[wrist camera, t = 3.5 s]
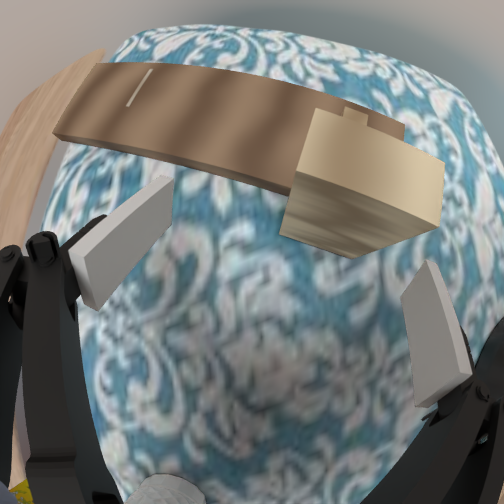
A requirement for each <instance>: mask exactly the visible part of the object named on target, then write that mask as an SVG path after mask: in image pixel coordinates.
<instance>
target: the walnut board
mask: <svg viewBox="0 0 504 504" xmlns="http://www.w3.org/2000/svg"><path fill="white" fill-rule="evenodd" d="M345 106H346V107H348V108H351V109H354V110H356V111H359V112H362V113H364V114H367V115H368V121H367V126H368V127H371V128H373V129H376V130H378V131H380V132H383V133H385V134H387V135H390V136H392V137H394V138H396V139H399V140H401V141H404V130H405V124H403V123H400V122H398V121H396V120H394V119H392V118H389V117H387V116H385V115H382V114H380V113H378V112H375V111H373V110H370V109H368V108H365V107H363V106H360V105H358V104H355V103H352V102H349V101H347V100H344V99H341V98H338V97H335V96H332V95H329V94H326V93H323V92H320V91H316V90H313V89H310V88H306V87H303V86H299V85H295V84H292V83H288V82H284V81H280V80H275V79H271V78H267V77H262V76H257V75H252V74H247V73H242V72H236V71H230V70H224V69H217V68H210V67H201V66H192V65H181V64H168V63H143V62H119V63H96V65H95V66H94V67H93V69H92V70H91V71H90V73H89V74H88V76H87V77H86V78H85V80H84V81H83V83H82V84H81V86H80V87H79V89H78V90H77V92H76V93H75V95H74V96H73V98H72V99H71V101H70V103H69V104H68V106H67V107H66V109H65V111H64V112H63V114H62V116H61V118H60V119H59V121H58V123H57V125H56V127H55V128H54V130H53V132H52V134H54V135H55V136H56V137H58V138H59V139H60V140H62V141H67V142H73V143H79V144H84V145H90V146H95V147H100V148H106V149H111V150H116V151H120V152H125V153H130V154H134V155H139V156H143V157H148V158H152V159H156V160H161V161H165V162H169V163H173V164H177V165H181V166H185V167H189V168H193V169H197V170H200V171H204V172H208V173H212V174H215V175H219V176H222V177H226V178H229V179H233V180H236V181H240V182H243V183H247V184H250V185H253V186H257V187H260V188H263V189H266V190H270V191H273V192H276V193H279V194H282V195H285V196H289V195H290V192H291V188H292V184H293V180H294V176H295V173H296V169H297V166H298V163H299V160H300V157H301V153H302V150H303V147H304V144H305V141H306V138H307V134H308V131H309V128H310V125H311V121H312V118H313V115H314V112H315V109H316V108H318V109H321V110H324V111H327V112H330V113H333V114H336V115H339V116H341V115H342V113H343V110H344V108H345Z"/></svg>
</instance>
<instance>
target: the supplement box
mask: <svg viewBox="0 0 504 504" xmlns="http://www.w3.org/2000/svg"><path fill="white" fill-rule="evenodd" d="M9 491H10V492H12V493H13V494H14V495H15V497H16V499H17V502H18V504H34V502H33V498H32V495H31V492H30V488H29V485H28V481H27V479H25V480H24V481H23V482H21V483H20V484H18V485H17V486H15V487H14V488H12V489H11V490H9Z"/></svg>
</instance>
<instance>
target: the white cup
mask: <svg viewBox="0 0 504 504" xmlns="http://www.w3.org/2000/svg"><path fill="white" fill-rule="evenodd" d="M124 504H206V500H205V496H204V494H203V493H202V492H201V491H200V490H199V489H198V488H197V487H196V486H195V485H193V484H192V483H190V482H188V481H186V480H185V479H183V478H180V477H176V476H173V475H169V474H154V475H152V476H150V477H148V478H146V479H145V480H144V481H143V482H142V484H141V485H140V486H139V488H138V489H137V490H136V491H135V492H134V493H132V494H131V496H130V497H129V498H128V499H127V501H126V502H124Z"/></svg>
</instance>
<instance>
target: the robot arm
mask: <svg viewBox="0 0 504 504" xmlns="http://www.w3.org/2000/svg"><path fill="white" fill-rule="evenodd" d="M173 185H174V178H170V177H166V176H162V175H160V176H159V177H157V178H156V179H155V180H153V181H152V182H150V183H149V184H148V185H146V186H145V187H144V188H142V189H141V190H140V191H138V192H137V193H136V194H134V195H133V196H132V197H131V198H129V199H128V200H127V201H125V202H124V203H123V204H122V205H120V206H119V207H118V208H117V209H115V210H114V211H113V212H112V213H110V214H109V215H108V216H107V215H104V214H103V215H101V216H99V217H96V218H94V219H92V220H91V221H90V222H89V223H88V224H86V225H85V227H83V228H82V229H80V230H79V232H77V233H76V234H75V235H73V236H72V237H71V238H70V239H69V240H68V241H67V242H66V243H64V244H63V245H62V246H61V247H59V244H58V240H57V236H56V235H55V234H54V233H53V232H50V231H43V232H40V233H37V234H35V235H33V236H32V237H31V238H30V239H29V240H28V241H27V243H26V249H27V252H28V255H29V257H27V256H23V255H22V252H21V249H20V247H19V246H17V245H9V246H7V247H4V248H3V249H2V250H0V504H18V502H17V499H16V497H15V495H14V494H13V493H12V492H10V491H9V490H8V487H9V483H10V475H11V462H12V435H13V421H14V411H15V402H16V395H17V388H18V382H19V377H20V371H21V366H22V378H23V396H24V409H25V418H26V426H27V433H28V439H29V444H30V451H31V455H30V458H29V459H28V461H27V462H26V467H25V470H26V477H27V481H28V485H29V488H30V492H31V495H32V498H33V502H34V504H124V503H123V500H122V498H121V496H120V493H119V491H118V488H117V485H116V483H115V481H114V479H113V477H112V475H111V474H110V472H109V471H108V469H107V467H106V464H105V462H104V459H103V455H102V452H101V449H100V445H99V442H98V438H97V434H96V430H95V426H94V422H93V418H92V414H91V409H90V404H89V399H88V394H87V389H86V383H85V377H84V370H83V363H82V355H81V347H80V337H79V324H78V307H77V302H76V299H77V298H78V297H79V296H80V295H81V296H82V299H83V302H84V304H85V305H87V306H89V307H90V308H92V309H94V310H96V311H99V310H100V309H101V307H102V306H103V305H104V304H105V302H106V301H107V300H108V299H109V297H110V296H111V295H112V294H113V292H114V291H115V290H116V289H117V287H118V286H119V285H120V284H121V282H122V281H123V280H124V279H125V277H126V276H127V275H128V274H129V273H130V271H131V270H132V269H133V268H134V267H135V265H136V264H137V263H138V262H139V261H140V260H141V258H142V257H143V256H144V255H145V254H146V253H147V251H148V250H149V249H150V248H151V247H152V246H153V245H154V243H155V242H156V241H157V240H158V239H159V238H160V237H161V236H162V234H163V233H164V232H165V231H166V230H167V229H168V228H169V227H170V226H171V220H172V200H173ZM10 296H11V299H10V301H9V302H8V300H9V297H10ZM400 298H401V303H402V308H403V313H404V319H405V325H406V331H407V337H408V344H409V351H410V358H411V367H412V376H413V387H414V400H415V407H423V408H429V407H430V406H432V405H433V404H434V403H436V402H437V401H438V408H437V409H435V410H434V411H432V412H431V413H429V414H428V415H426V416H424V417H423V418H422V419H421V420H422V421H423V420H425V419H427V418H429V419H428V420H427V422H425V425H424V426H423V428H422V429H421V431H420V432H419V434H418V435H417V436H416V438H415V439H414V441H413V442H412V443H411V445H410V446H409V447H408V449H407V450H406V451H405V453H404V454H403V455H402V457H401V458H400V459H399V460H398V462H397V463H396V464H395V465H394V467H393V468H392V469H391V470H390V471H389V472H388V474H387V475H386V476H385V477H384V478H383V479H382V480H381V482H380V483H379V484H378V485H377V486H376V487H375V488H374V489H373V490H372V491H371V492H370V493H369V494H368V496H367V497H366V498H365V499H364V500H363V501H362V502H361V503H360V504H497V503H498V500H499V497H500V493H501V490H502V486H503V482H504V318H503V319H502V320H501V321H500V322H499V324H498V325H497V326H496V328H495V329H494V331H493V332H492V334H491V335H490V337H489V339H488V341H487V343H486V345H485V347H484V349H483V351H482V353H481V356H480V358H479V361H478V363H477V366H476V369H475V367H474V362H473V358H472V355H471V354H470V352H471V351H470V347H469V346H468V345H469V344H468V340H467V337H466V334H465V333H464V331H463V329H462V327H461V326H459V322H458V319H457V316H456V313H455V310H454V307H453V304H452V302H451V299H450V296H449V293H448V291H447V288H446V285H445V283H444V280H443V278H442V275H441V273H440V270H439V268H438V266H437V264H436V263H434V262H431V261H429V260H425V261H424V263H423V265H422V266H421V268H420V269H419V271H418V272H417V274H416V275H415V277H414V278H413V280H412V281H411V283H410V284H409V286H408V287H407V288H406V290H405V291H404V293H403V294H402V296H401V297H400ZM485 436H488V438H487V441H486V442H484V443H482V444H480V441H481V439H482V438H484V437H485Z"/></svg>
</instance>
